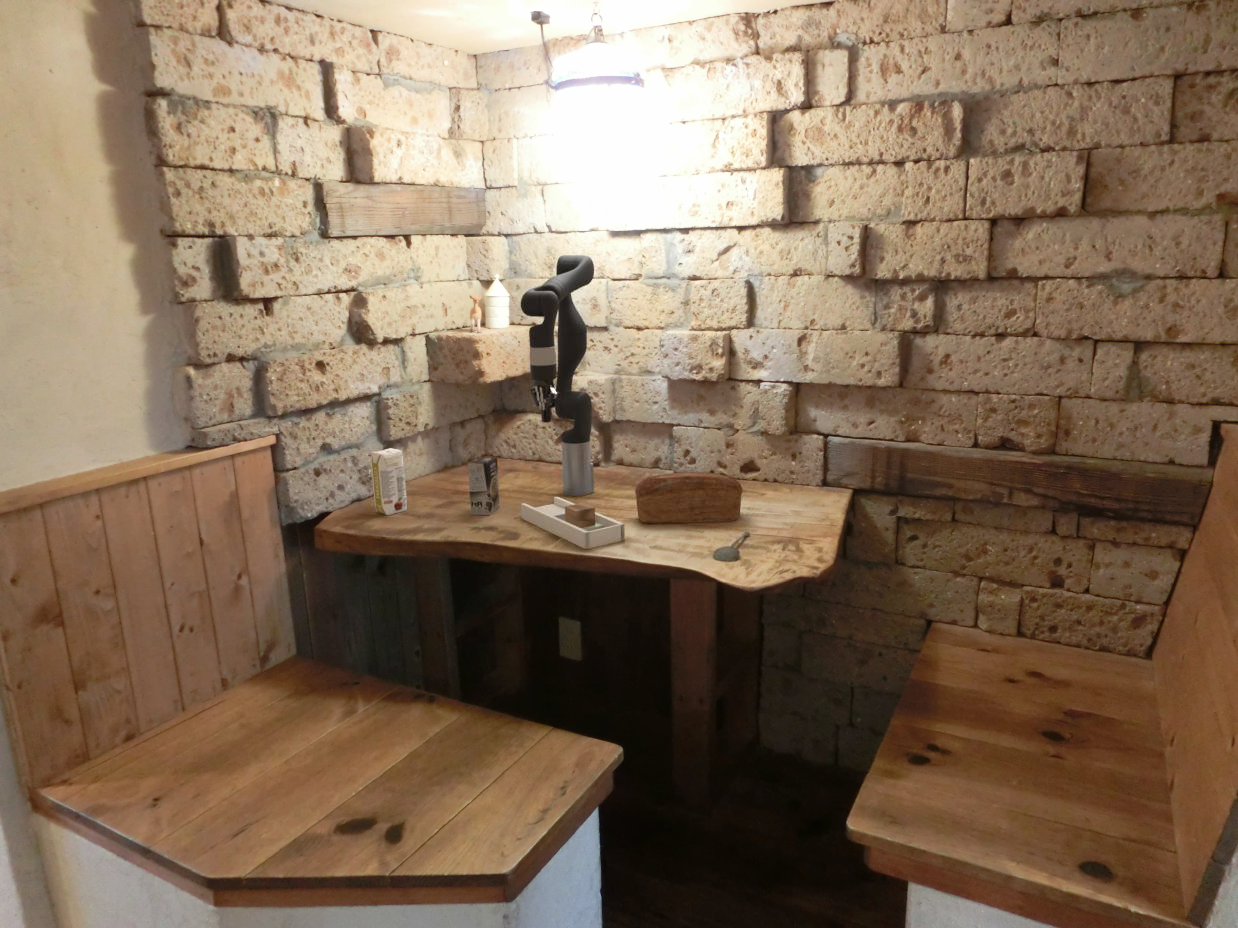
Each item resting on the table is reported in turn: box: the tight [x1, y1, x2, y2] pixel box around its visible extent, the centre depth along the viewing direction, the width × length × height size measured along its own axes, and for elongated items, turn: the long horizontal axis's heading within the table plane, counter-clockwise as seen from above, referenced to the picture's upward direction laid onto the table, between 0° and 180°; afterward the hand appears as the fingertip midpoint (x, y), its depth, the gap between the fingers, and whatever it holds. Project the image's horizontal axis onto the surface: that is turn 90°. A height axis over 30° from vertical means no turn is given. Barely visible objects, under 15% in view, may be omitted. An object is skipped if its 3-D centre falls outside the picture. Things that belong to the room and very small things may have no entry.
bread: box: [634, 471, 743, 524], centre depth 245 cm, size 12×31×14 cm, turn 91°
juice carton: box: [370, 447, 408, 516], centre depth 258 cm, size 8×9×19 cm
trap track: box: [520, 496, 626, 550], centre depth 239 cm, size 12×35×4 cm, turn 35°
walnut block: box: [565, 502, 596, 528], centre depth 234 cm, size 6×6×5 cm
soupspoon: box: [712, 531, 751, 563], centre depth 220 cm, size 22×3×7 cm
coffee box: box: [467, 456, 501, 516], centre depth 257 cm, size 9×6×16 cm
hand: (546, 422), depth 246 cm, fingers closed
